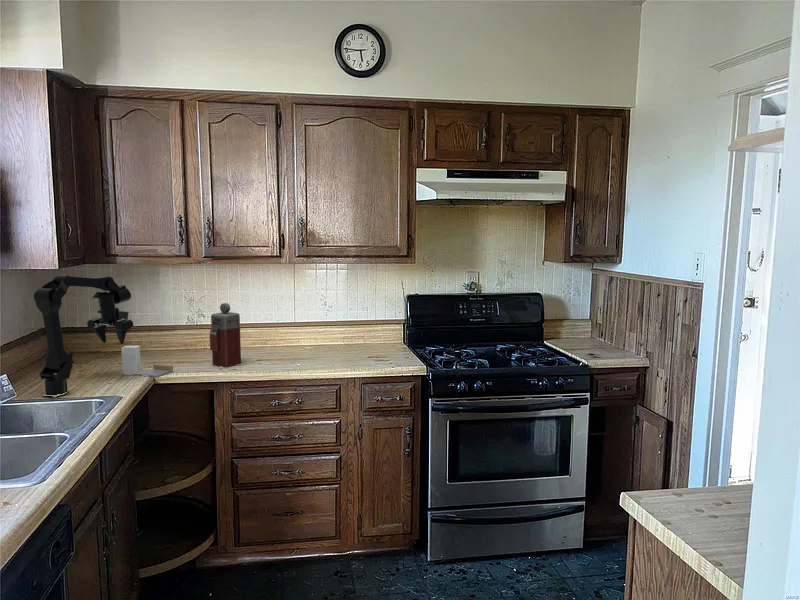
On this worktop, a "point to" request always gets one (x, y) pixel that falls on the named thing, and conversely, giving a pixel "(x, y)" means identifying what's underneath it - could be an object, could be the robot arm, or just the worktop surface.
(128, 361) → the skincare box
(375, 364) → the worktop surface
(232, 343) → the red french press
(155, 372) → the plate
